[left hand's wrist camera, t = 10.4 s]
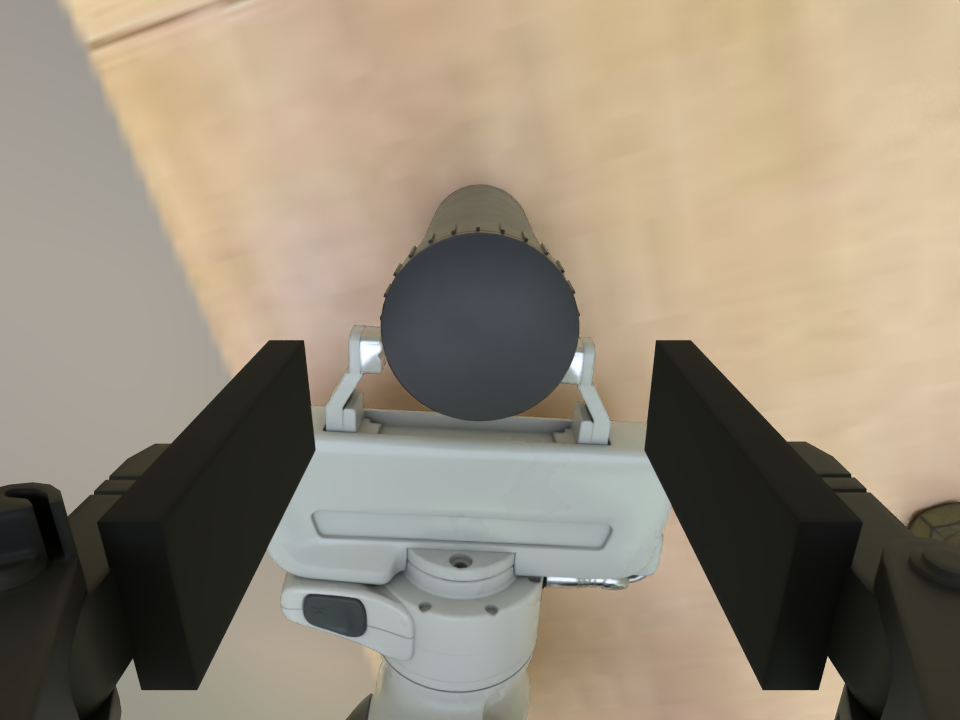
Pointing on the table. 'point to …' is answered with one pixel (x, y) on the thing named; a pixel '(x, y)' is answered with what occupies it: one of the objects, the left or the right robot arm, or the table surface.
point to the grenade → (939, 524)
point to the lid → (479, 322)
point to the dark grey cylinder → (480, 210)
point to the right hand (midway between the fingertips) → (473, 334)
